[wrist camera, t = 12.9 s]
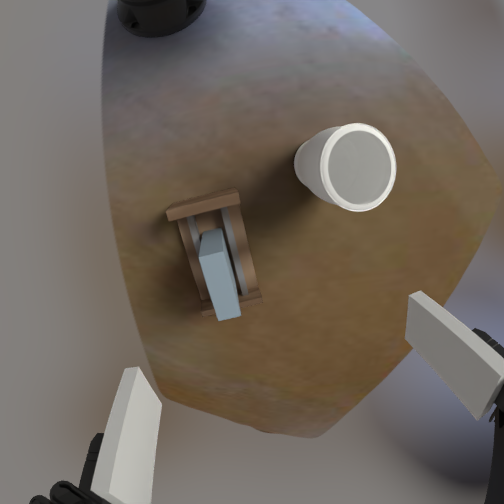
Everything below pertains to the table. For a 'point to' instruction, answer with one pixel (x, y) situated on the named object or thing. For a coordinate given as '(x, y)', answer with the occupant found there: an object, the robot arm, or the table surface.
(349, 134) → the jar
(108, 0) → the table surface
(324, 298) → the table surface
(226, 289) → the blue-gray rectangular block
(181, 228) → the wooden rod frame
